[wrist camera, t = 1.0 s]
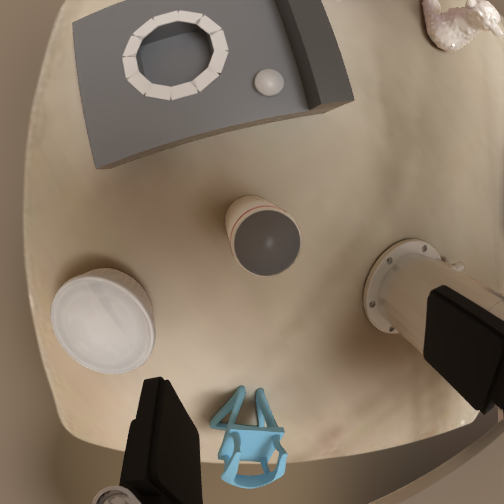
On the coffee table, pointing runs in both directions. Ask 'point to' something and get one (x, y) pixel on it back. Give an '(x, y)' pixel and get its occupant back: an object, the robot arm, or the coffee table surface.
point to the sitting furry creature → (459, 23)
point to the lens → (262, 236)
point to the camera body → (201, 70)
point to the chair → (249, 442)
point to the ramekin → (104, 321)
